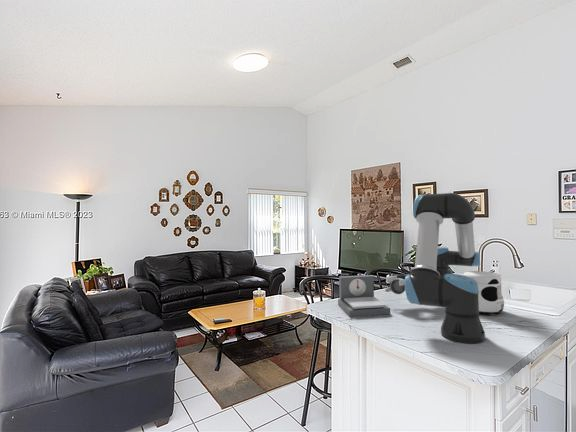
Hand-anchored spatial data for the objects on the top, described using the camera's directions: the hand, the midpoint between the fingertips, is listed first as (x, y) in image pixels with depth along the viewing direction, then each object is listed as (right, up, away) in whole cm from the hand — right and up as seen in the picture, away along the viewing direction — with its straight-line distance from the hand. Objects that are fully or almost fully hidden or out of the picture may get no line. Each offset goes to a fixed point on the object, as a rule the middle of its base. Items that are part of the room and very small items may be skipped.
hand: (392, 281), depth 167 cm
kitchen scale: (-16, -14, -1) cm, 21 cm away
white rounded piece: (+41, -13, -9) cm, 44 cm away
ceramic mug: (+2, -7, +2) cm, 7 cm away
